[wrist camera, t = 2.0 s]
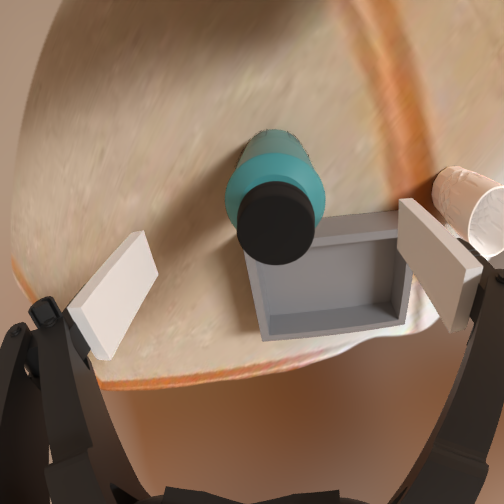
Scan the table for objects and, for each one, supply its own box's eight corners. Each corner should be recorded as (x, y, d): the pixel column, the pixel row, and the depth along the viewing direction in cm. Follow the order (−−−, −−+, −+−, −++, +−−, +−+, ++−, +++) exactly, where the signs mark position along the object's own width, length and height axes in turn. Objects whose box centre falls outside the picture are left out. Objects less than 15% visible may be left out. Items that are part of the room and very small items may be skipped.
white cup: (478, 207, 32) (521, 241, 24) (433, 228, 34) (470, 268, 26) (469, 152, 29) (518, 176, 20) (420, 172, 31) (463, 201, 23)
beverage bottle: (238, 132, 31) (188, 184, 14) (299, 121, 30) (333, 156, 13) (251, 188, 34) (224, 297, 17) (310, 178, 33) (346, 280, 16)
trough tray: (246, 226, 36) (242, 246, 32) (401, 209, 34) (417, 227, 29) (264, 316, 43) (262, 341, 39) (394, 301, 40) (404, 324, 36)
